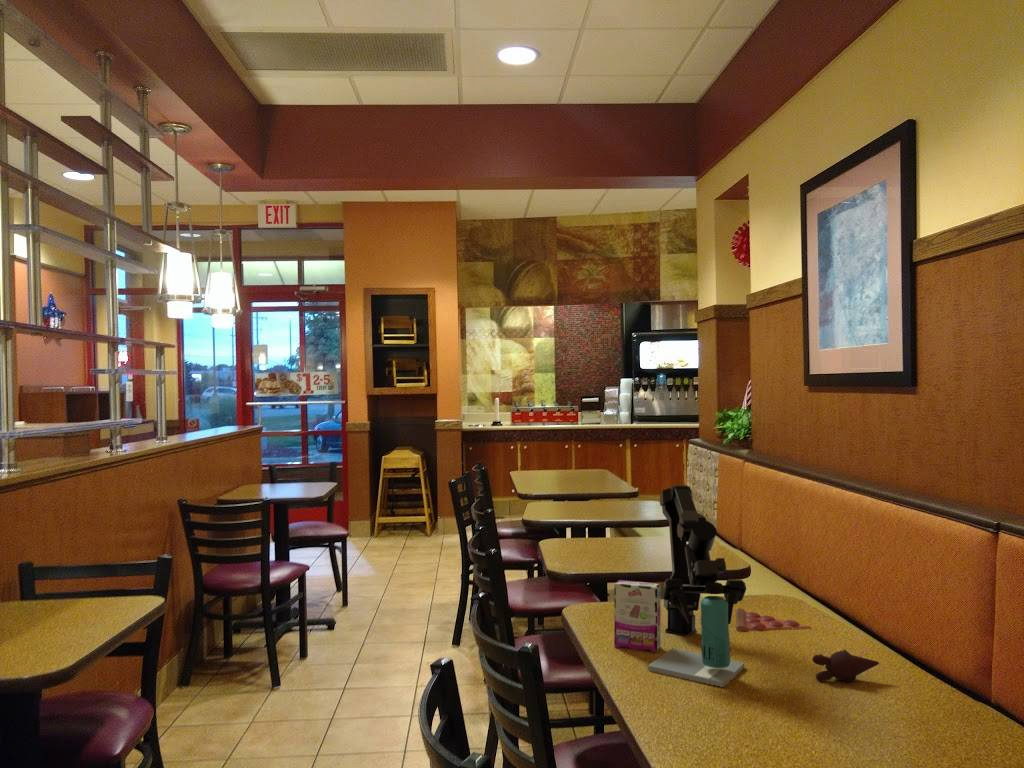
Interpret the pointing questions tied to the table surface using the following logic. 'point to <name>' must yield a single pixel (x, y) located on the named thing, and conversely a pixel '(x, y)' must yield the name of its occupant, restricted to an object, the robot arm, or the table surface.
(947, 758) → the table surface
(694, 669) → the grey flat rectangular block
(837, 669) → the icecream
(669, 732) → the table surface
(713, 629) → the beverage bottle
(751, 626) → the pizza slice
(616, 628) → the candy bar box
